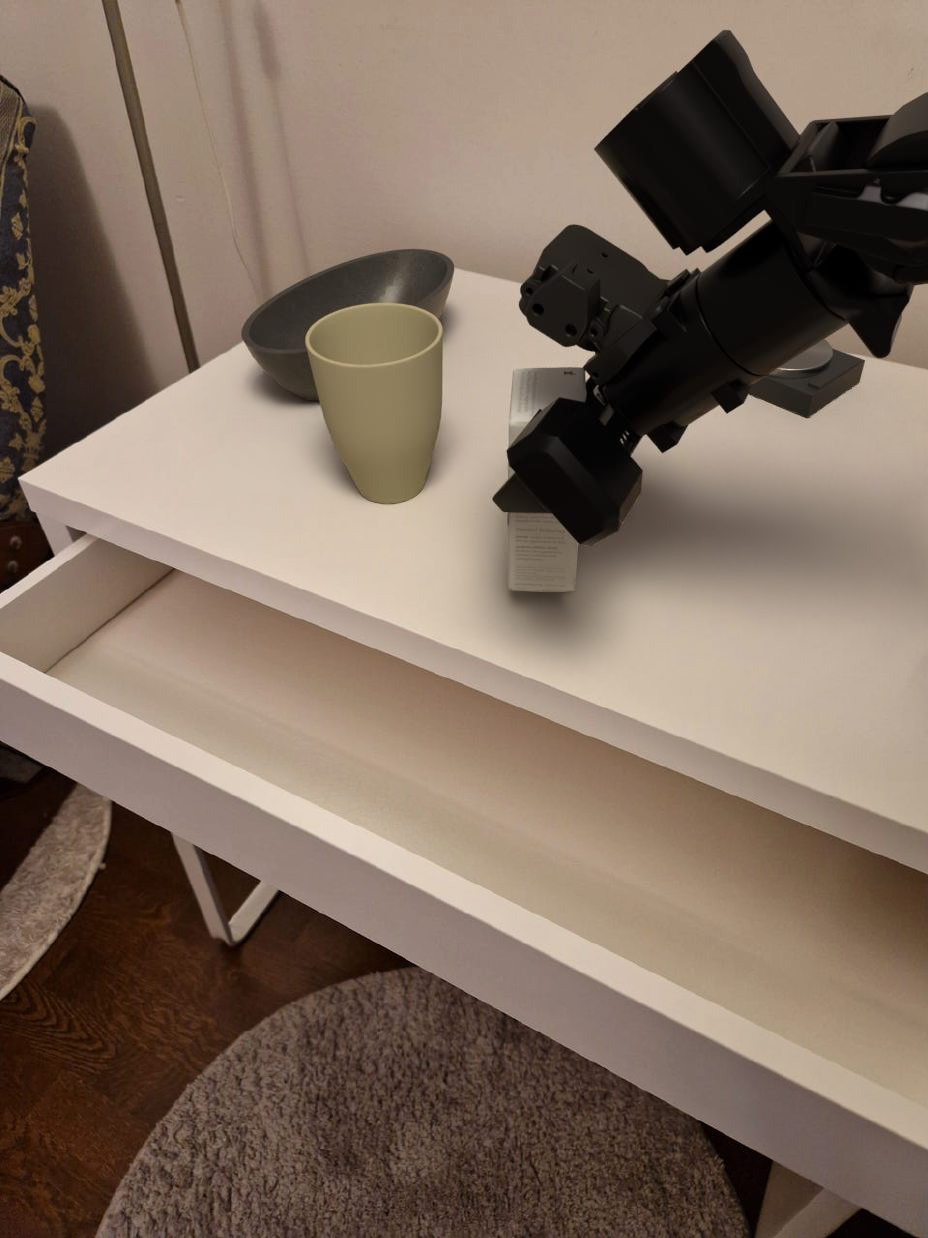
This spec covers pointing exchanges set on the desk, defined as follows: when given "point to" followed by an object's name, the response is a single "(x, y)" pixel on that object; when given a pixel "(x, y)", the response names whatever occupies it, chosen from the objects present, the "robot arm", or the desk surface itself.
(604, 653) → the desk surface
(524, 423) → the cosmetic box
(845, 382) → the scale
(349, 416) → the olive green cup
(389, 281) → the bowl
